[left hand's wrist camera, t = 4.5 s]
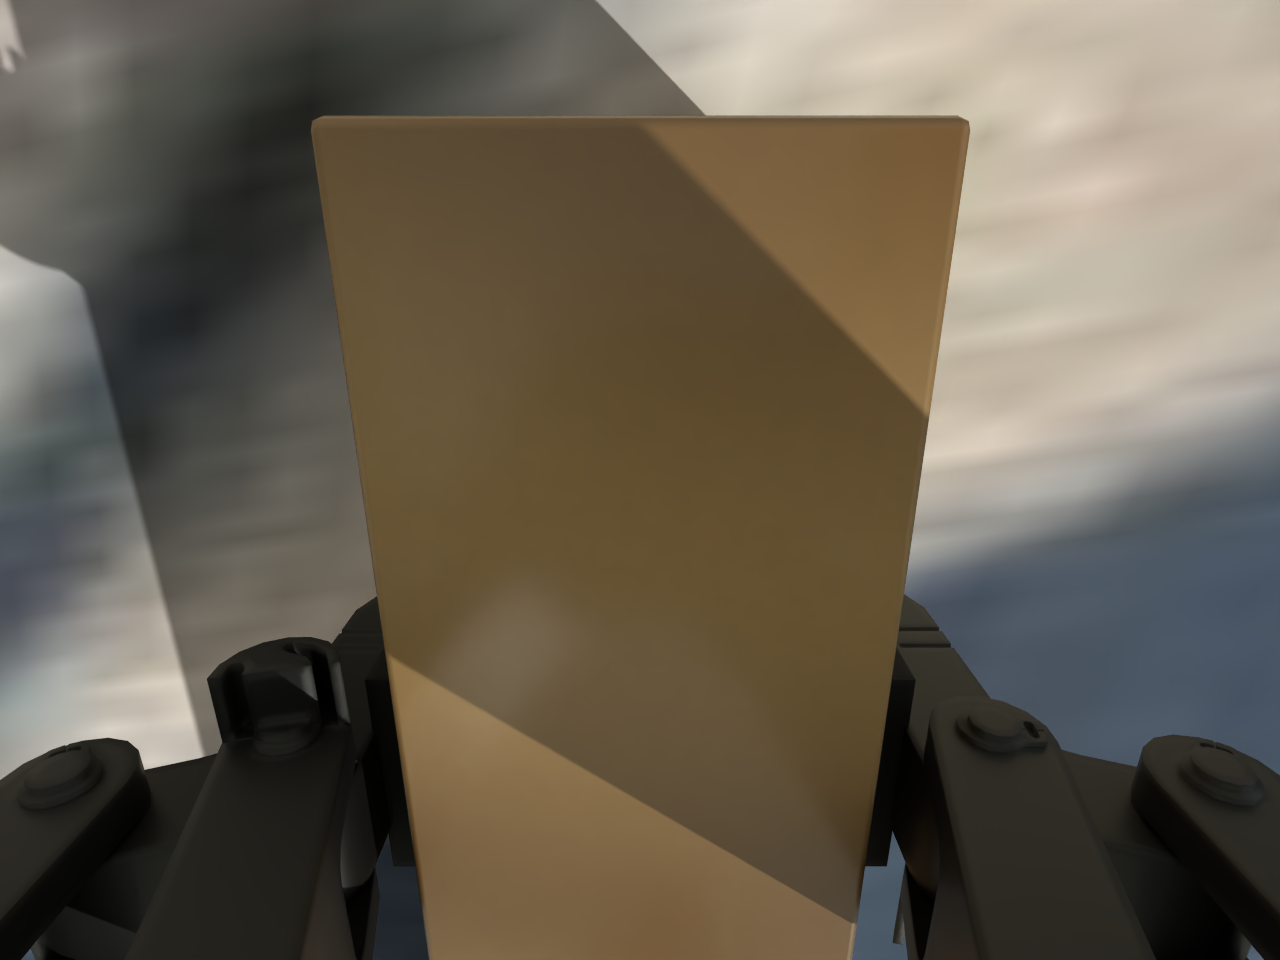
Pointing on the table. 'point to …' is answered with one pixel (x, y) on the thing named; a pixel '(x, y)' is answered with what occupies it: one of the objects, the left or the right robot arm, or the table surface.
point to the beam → (640, 506)
